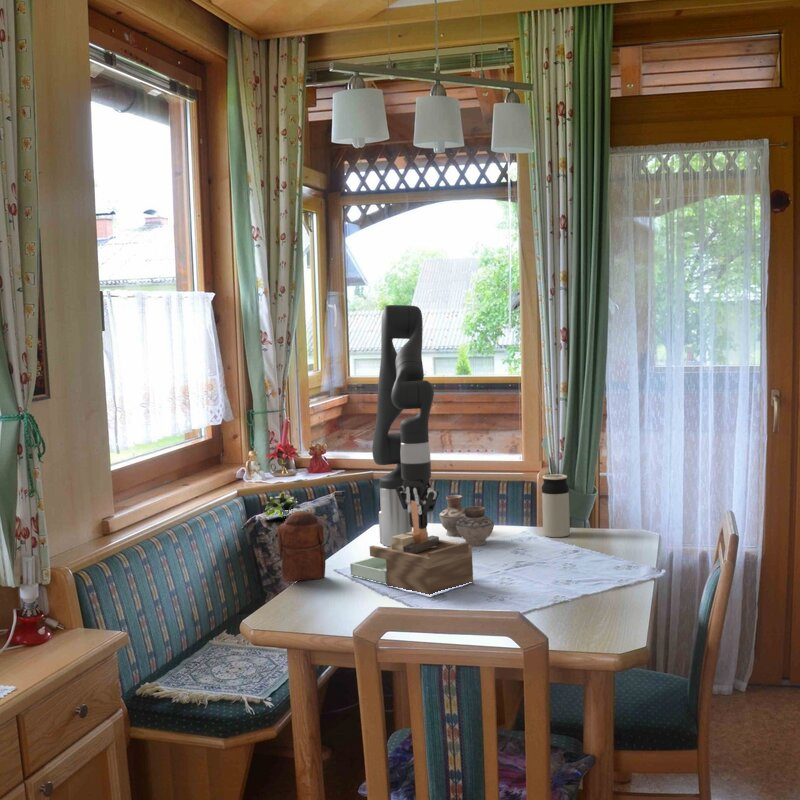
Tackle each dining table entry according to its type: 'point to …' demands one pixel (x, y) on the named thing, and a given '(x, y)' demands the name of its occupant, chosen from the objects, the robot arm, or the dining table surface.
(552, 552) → the dining table surface
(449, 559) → the wooden box
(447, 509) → the pottery
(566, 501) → the travel mug
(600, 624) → the dining table surface
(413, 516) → the scraper
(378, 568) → the sage green tray
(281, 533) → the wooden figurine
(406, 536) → the birch block
